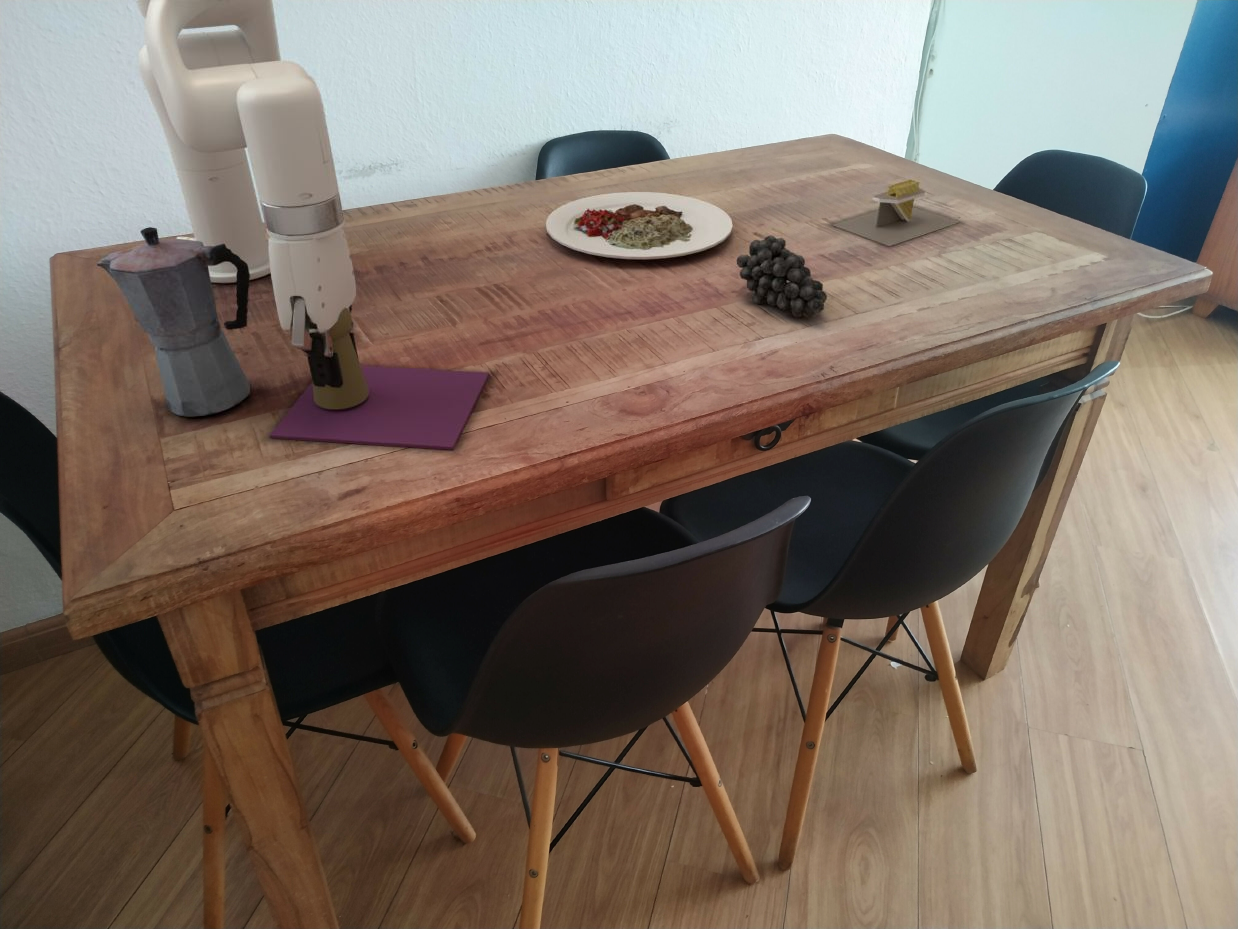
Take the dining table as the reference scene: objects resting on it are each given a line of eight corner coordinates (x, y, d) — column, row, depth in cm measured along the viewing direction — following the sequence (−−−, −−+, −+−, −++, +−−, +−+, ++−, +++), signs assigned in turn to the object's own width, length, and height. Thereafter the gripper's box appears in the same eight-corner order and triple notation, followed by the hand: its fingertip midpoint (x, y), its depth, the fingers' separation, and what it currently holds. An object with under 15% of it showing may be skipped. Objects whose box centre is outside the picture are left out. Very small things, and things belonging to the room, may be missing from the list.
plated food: (759, 258, 135) (761, 236, 133) (566, 277, 129) (565, 255, 127) (697, 196, 159) (698, 177, 157) (532, 210, 153) (531, 191, 151)
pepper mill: (354, 412, 97) (336, 320, 91) (304, 406, 98) (282, 315, 92) (378, 384, 102) (361, 296, 96) (329, 379, 103) (310, 291, 97)
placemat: (270, 438, 94) (269, 435, 94) (327, 366, 108) (327, 363, 107) (453, 450, 93) (452, 446, 92) (489, 375, 106) (489, 372, 105)
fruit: (842, 258, 111) (770, 219, 122) (789, 290, 110) (721, 248, 120) (849, 313, 117) (779, 271, 128) (799, 344, 116) (733, 299, 126)
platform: (959, 222, 148) (968, 182, 144) (889, 246, 139) (896, 204, 135) (901, 203, 156) (908, 165, 152) (831, 224, 147) (837, 185, 143)
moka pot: (158, 380, 105) (102, 214, 93) (292, 374, 106) (252, 209, 94) (129, 423, 97) (63, 247, 86) (273, 416, 98) (227, 242, 87)
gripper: (301, 185, 95) (333, 339, 106) (227, 242, 82) (272, 412, 92) (369, 187, 95) (394, 342, 105) (305, 245, 81) (341, 416, 91)
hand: (336, 373), depth 98 cm, fingers closed on pepper mill, 4 cm apart
